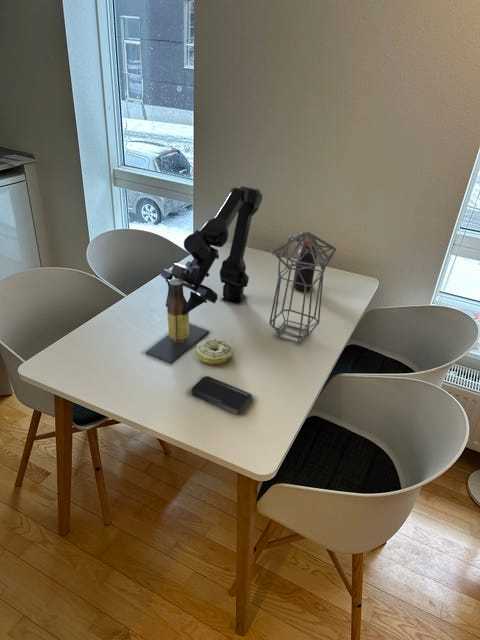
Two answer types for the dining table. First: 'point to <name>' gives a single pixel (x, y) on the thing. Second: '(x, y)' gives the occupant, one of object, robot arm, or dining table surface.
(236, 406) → the phone
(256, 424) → the dining table surface
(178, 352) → the mat
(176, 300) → the sauce bottle
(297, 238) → the geometric lantern
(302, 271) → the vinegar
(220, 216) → the robot arm
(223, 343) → the decorated donut
